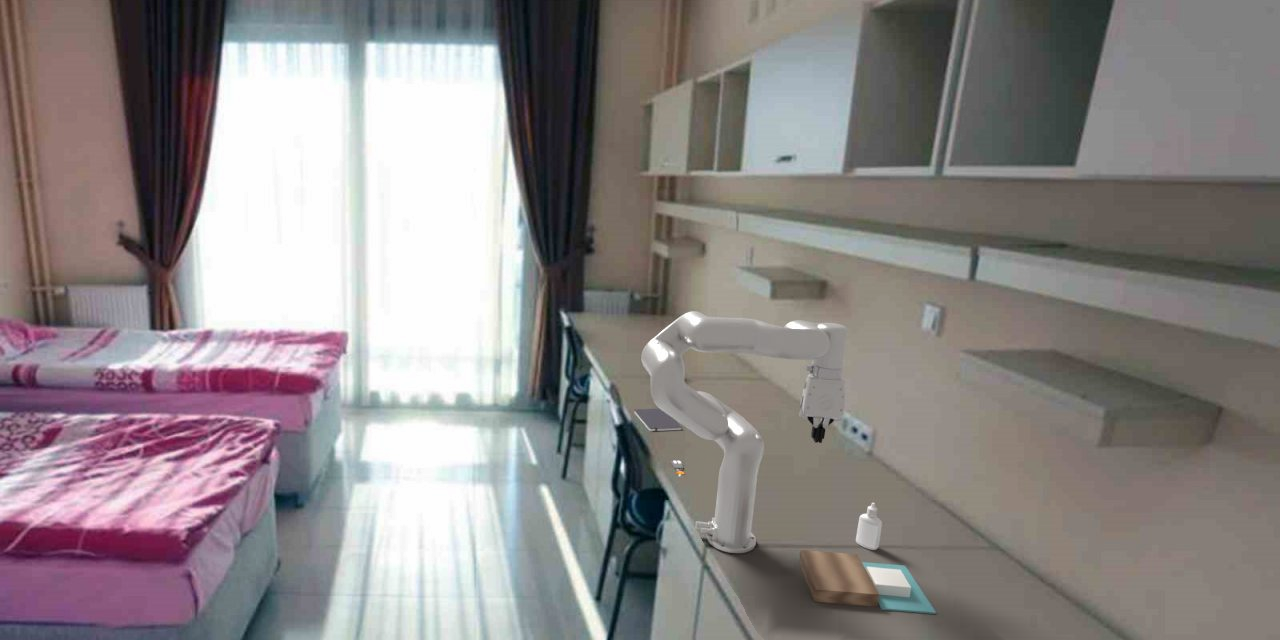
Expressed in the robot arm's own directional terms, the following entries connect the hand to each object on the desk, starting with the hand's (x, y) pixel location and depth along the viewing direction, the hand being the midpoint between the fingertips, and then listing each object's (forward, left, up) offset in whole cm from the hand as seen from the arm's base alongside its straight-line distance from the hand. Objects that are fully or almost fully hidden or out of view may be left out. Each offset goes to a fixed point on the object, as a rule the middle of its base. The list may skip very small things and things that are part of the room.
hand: (817, 440), depth 164 cm
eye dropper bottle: (+16, -2, -27) cm, 32 cm away
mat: (+17, -20, -27) cm, 37 cm away
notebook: (-39, +80, -28) cm, 93 cm away
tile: (+15, -20, -27) cm, 37 cm away
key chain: (-32, +35, -28) cm, 55 cm away
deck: (+3, -20, -27) cm, 34 cm away
